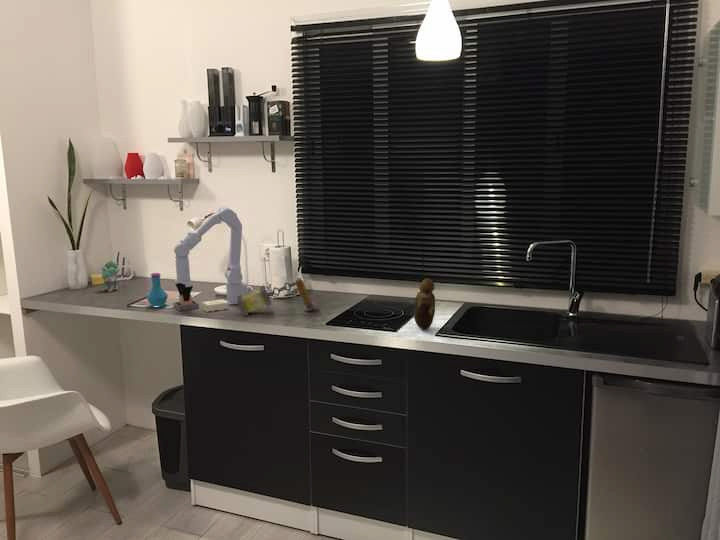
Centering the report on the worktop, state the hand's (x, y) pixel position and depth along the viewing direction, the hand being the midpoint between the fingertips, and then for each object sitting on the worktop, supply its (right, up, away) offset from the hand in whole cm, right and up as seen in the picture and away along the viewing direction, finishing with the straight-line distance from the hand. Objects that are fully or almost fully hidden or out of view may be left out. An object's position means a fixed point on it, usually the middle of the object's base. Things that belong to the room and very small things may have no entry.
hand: (184, 299), depth 281 cm
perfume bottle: (-14, -3, +5) cm, 15 cm away
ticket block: (+14, -4, -3) cm, 15 cm away
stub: (0, -2, 0) cm, 2 cm away
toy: (-48, +3, +39) cm, 62 cm away
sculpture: (+104, -10, -38) cm, 111 cm away
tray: (0, -4, +1) cm, 4 cm away
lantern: (+43, -5, -9) cm, 44 cm away
